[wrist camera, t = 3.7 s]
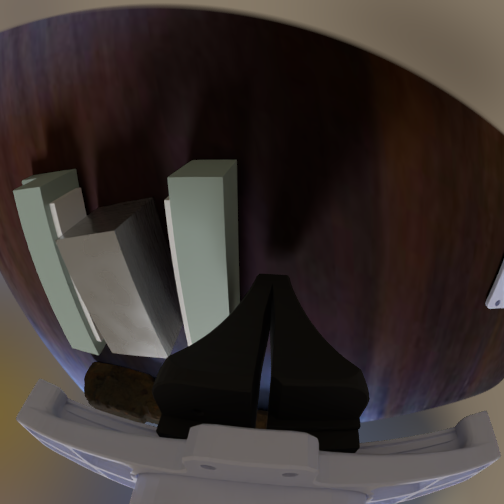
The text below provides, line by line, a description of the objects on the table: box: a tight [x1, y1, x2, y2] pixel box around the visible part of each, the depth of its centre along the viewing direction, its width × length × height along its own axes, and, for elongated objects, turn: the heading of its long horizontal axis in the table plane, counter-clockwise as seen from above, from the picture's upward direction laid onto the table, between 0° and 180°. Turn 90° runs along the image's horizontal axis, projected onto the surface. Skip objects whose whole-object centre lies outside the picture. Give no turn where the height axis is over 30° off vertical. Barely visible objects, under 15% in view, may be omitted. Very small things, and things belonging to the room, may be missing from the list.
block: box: [55, 197, 183, 358], centre depth 14 cm, size 4×7×4 cm, turn 9°
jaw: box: [164, 160, 240, 346], centre depth 14 cm, size 2×11×3 cm, turn 0°
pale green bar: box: [13, 169, 106, 355], centre depth 14 cm, size 4×11×3 cm, turn 0°
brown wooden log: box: [84, 362, 268, 429], centre depth 20 cm, size 19×4×5 cm, turn 74°
